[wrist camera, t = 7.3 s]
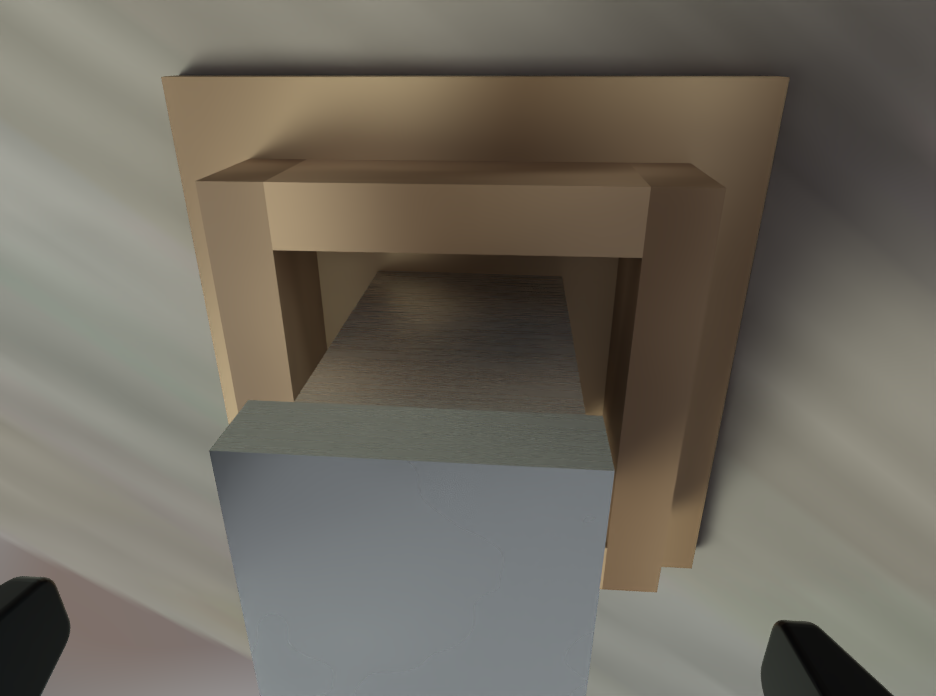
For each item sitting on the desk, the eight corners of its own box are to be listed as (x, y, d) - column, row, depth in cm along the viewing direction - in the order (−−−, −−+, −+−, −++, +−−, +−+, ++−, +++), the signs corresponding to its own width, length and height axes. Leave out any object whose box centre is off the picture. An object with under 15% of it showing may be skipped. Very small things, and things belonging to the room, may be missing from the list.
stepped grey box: (564, 239, 13) (615, 470, 6) (548, 460, 16) (571, 813, 8) (376, 234, 14) (209, 451, 6) (389, 452, 16) (279, 787, 9)
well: (777, 76, 12) (851, 84, 9) (686, 552, 17) (716, 645, 15) (176, 75, 13) (85, 83, 10) (260, 529, 18) (214, 613, 15)
